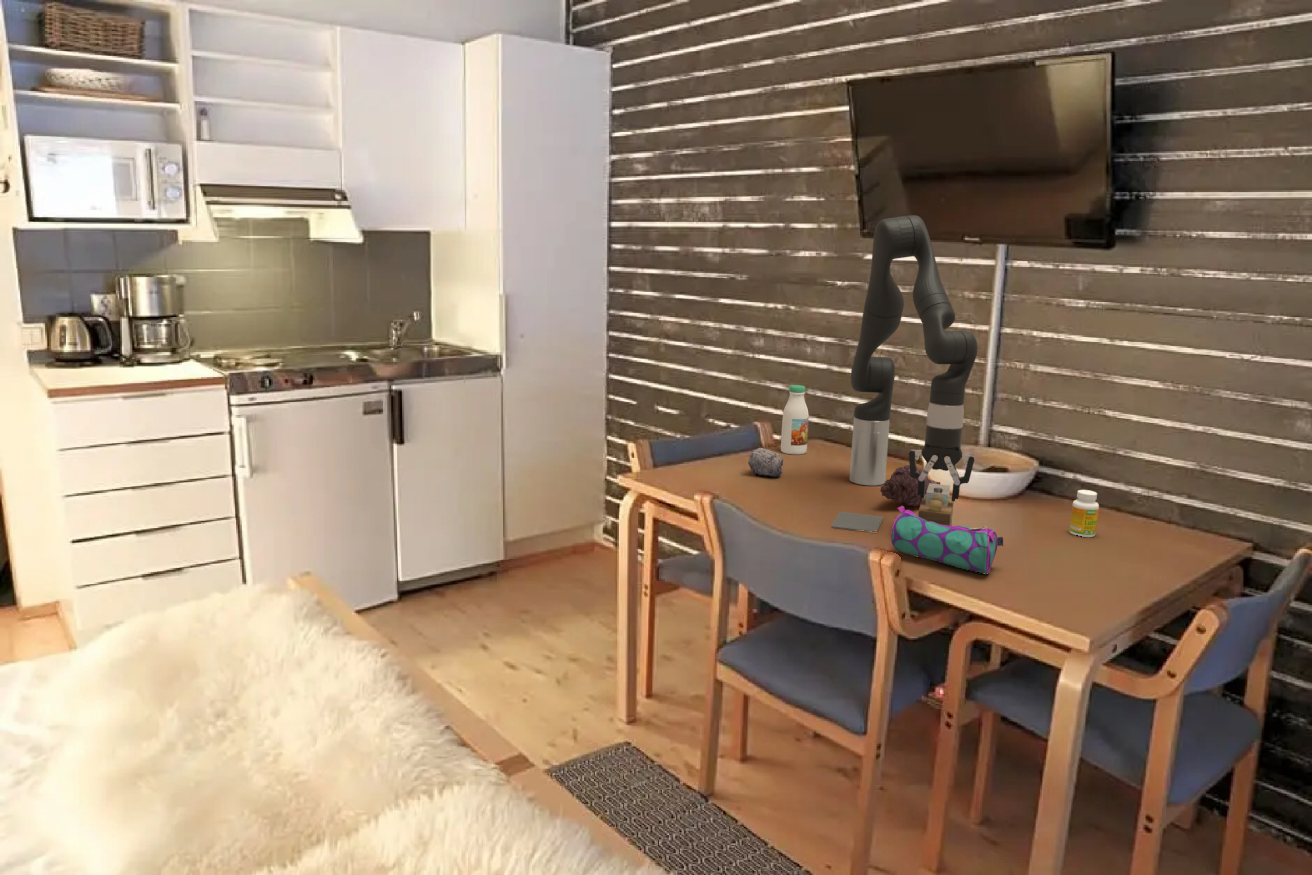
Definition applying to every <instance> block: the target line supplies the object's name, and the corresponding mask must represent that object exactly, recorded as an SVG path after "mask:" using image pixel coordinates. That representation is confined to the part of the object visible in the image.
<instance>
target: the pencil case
mask: <svg viewBox="0 0 1312 875" xmlns="http://www.w3.org/2000/svg"><path fill="white" fill-rule="evenodd" d="M896 509H897V510H898V512H900V514H898V515H897V517H896V518H895V520H894V522H893V525H892V528H891V532H890V541H891V544H892V546H893V548H894V550H895V551H896V550H897V552H898V551H899V553H904V554H906V555H909V554H910V556H914V557H916V556H918V557H917V558H920V557H922V558H921V559H925V558H926V560H929V559H930V560H929V561H933V560H934V561H935V562H937V561H938V563H941V564H945V565H947V566H950V565H951V567H953V566H955V567H954V568H957V567H958V568H957V569H960V568H962V570H964V569H968V570H972V571H975V572H974V573H977V572H980V573H979V574H981V573H985V574H984V575H986V574H987V573H989V572H991V568H992V565H993V562H994V560H995V557H996V553H997V550H998V547H1001V546H1002V547H1004V537H1003V536H998V534H997V532H996V531H995V530H993V529H992V528H991V527H990V528H989V527H987V526H986V525H983V526H981V527H974V528H973V527H970V526H964V525H952V524H951V525H952V526H951V525H940V524H937V523H935V522H932V521H926V520H925V519H922V518H920V517H919V516H918V515H917V514H916V513H915V512H913V511H912V510H910V509H905V506H903V505H901V506H899V507H897V508H896ZM934 561H933V562H934ZM968 570H967V571H968ZM972 571H971V572H972ZM989 574H990V573H989Z"/></svg>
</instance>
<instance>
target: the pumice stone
mask: <svg viewBox="0 0 1312 875" xmlns="http://www.w3.org/2000/svg"><path fill="white" fill-rule="evenodd" d="M747 463H748V466H749V468H750V470H751V471H752V473H753V474H754V475H755V474H758V475H757V476H760V475H764V476H763V477H767V476H769V477H768V478H779V477H780V476H781V475H782V474H783V468H782V466H784V458H783V456H781V454H779V453H777V452H774V451H772V450H770V449H766V448H764V447H763V448H762V447H758V448H755V449H753V450H752V451H751V453H750V454H749V459H748V462H747Z"/></svg>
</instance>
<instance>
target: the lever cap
mask: <svg viewBox="0 0 1312 875" xmlns="http://www.w3.org/2000/svg"><path fill="white" fill-rule="evenodd" d="M950 491H951V485H949V484H948V485H947V484H941V483H940V484H931V483H929V486H928V489H927V492H926V503H925V506H930V501H931V500H939V501H941V502H942V506H941V508H947V506H948V501H949V497H950V493H951V492H950Z"/></svg>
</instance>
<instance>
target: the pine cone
mask: <svg viewBox="0 0 1312 875" xmlns="http://www.w3.org/2000/svg"><path fill="white" fill-rule="evenodd" d="M922 470H923V469H920V468H918V467H917V472H919V473H921V472H922ZM928 478H929V477H928V476H926V477H925V480H926V482H925V493H924V494H926V492H927V489H928V486H929V483H931V484H941V481H935V480H932V479H928ZM880 493H881V496H882V497H885V498H886V500H891V501H893V502H898V503H903V502H904V503H905V504H906V506H911V505H912V506H911V507H917V506H920V505H921V502H922V499H923V498H920V495H918V480H917V479H916V478H912V477H911V476H910V464H909V465H906V464H905V465H903V466H900V467H897V468H896V469H895V470H894V471H893V473H892V474H891V475H890V478H889V479H886V480H885V483H884V484H882V485H880Z"/></svg>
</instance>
